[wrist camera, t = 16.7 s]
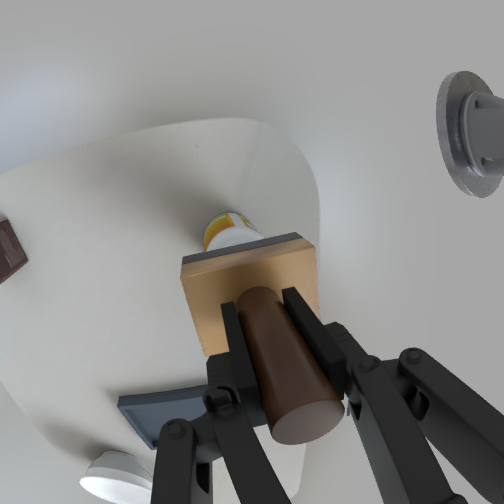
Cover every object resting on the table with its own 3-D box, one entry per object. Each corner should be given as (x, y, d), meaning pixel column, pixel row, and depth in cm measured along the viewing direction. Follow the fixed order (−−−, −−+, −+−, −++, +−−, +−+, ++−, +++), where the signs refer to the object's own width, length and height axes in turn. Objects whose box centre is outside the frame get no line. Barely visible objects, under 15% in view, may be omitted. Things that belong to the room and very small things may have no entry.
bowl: (117, 477, 41) (115, 506, 33) (70, 443, 36) (62, 475, 28) (174, 472, 42) (176, 505, 34) (129, 437, 37) (125, 476, 29)
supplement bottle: (201, 260, 29) (204, 305, 20) (205, 210, 28) (209, 234, 19) (251, 263, 30) (274, 306, 21) (257, 214, 29) (286, 239, 20)
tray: (220, 382, 35) (222, 392, 33) (238, 429, 40) (240, 438, 38) (119, 396, 33) (117, 406, 31) (151, 440, 38) (151, 450, 36)
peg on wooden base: (295, 231, 19) (416, 327, 8) (303, 304, 22) (389, 424, 10) (182, 256, 18) (169, 400, 7) (203, 329, 21) (220, 478, 9)
